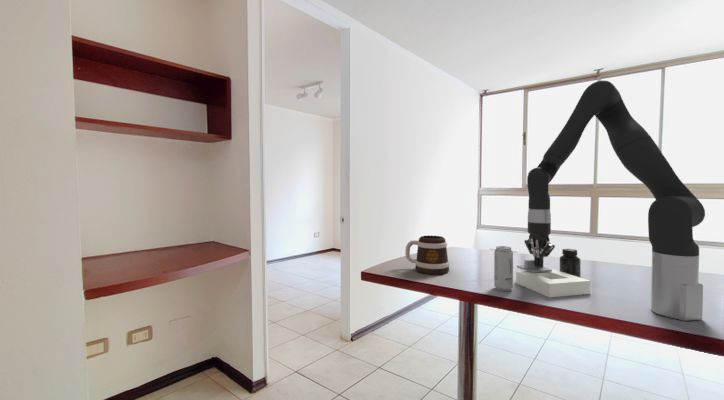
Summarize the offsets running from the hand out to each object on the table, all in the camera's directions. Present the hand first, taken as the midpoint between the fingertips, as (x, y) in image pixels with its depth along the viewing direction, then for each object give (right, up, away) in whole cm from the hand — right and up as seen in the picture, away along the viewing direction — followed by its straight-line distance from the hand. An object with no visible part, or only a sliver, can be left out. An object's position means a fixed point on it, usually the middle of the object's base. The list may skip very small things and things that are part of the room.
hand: (538, 266), depth 115 cm
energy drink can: (-16, -7, -6) cm, 18 cm away
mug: (-38, -6, +22) cm, 44 cm away
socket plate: (+1, -7, -5) cm, 9 cm away
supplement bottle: (+15, -6, +4) cm, 17 cm away
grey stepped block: (0, -2, +3) cm, 3 cm away
